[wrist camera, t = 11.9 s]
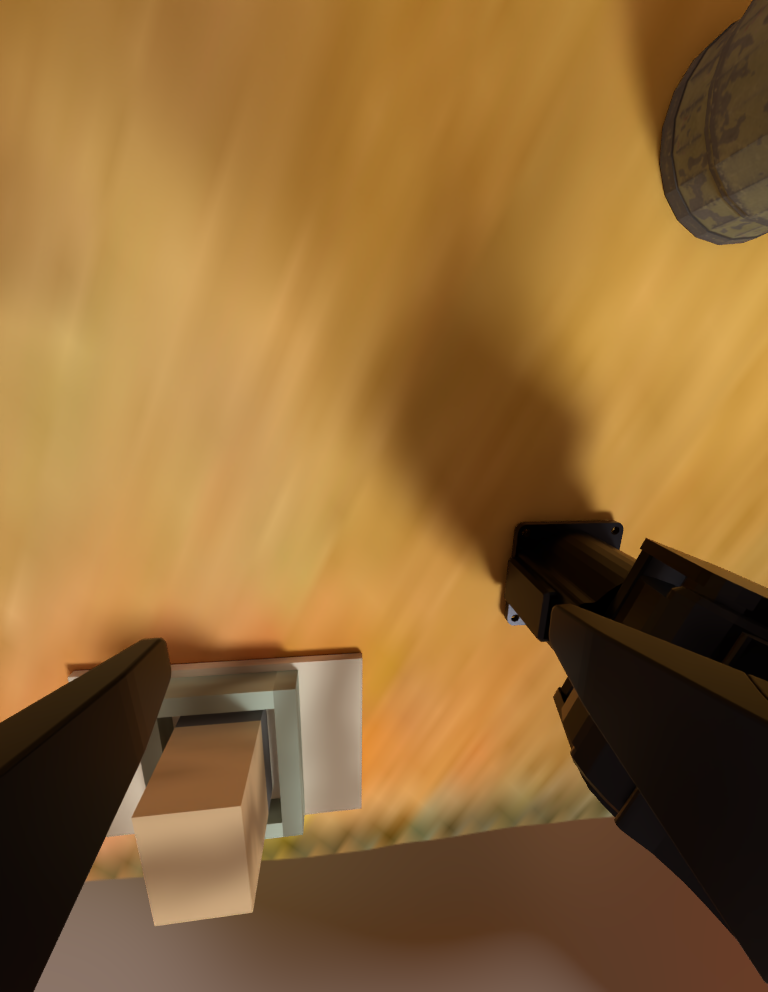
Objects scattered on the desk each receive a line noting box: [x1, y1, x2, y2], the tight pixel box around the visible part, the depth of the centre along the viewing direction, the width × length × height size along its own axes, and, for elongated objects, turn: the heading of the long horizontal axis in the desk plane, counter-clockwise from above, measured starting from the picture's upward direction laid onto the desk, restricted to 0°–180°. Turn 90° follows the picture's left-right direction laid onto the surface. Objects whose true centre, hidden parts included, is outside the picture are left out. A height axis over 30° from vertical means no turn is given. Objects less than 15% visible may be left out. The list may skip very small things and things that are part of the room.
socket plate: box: [68, 653, 362, 839], centre depth 23 cm, size 16×12×2 cm
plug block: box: [131, 709, 273, 926], centre depth 20 cm, size 7×4×6 cm, turn 179°
